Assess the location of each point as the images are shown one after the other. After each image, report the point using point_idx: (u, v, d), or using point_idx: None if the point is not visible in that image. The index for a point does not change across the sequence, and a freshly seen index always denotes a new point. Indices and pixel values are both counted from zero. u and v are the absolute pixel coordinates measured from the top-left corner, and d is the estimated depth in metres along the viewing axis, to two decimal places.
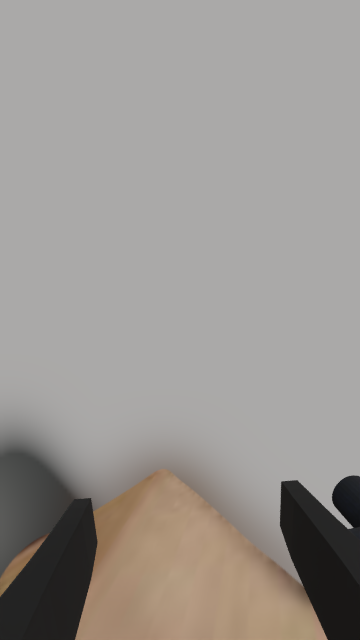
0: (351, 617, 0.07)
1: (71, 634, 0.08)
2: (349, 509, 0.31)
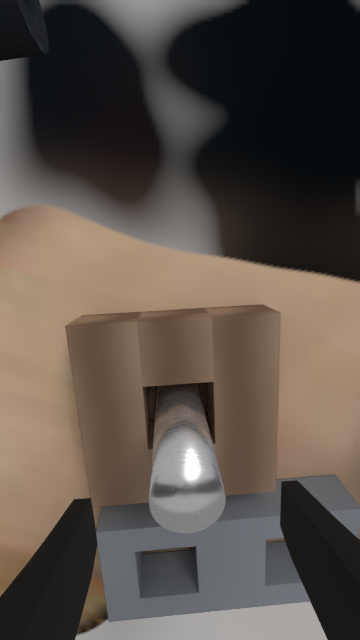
0: (351, 617, 0.07)
1: (71, 634, 0.08)
2: None
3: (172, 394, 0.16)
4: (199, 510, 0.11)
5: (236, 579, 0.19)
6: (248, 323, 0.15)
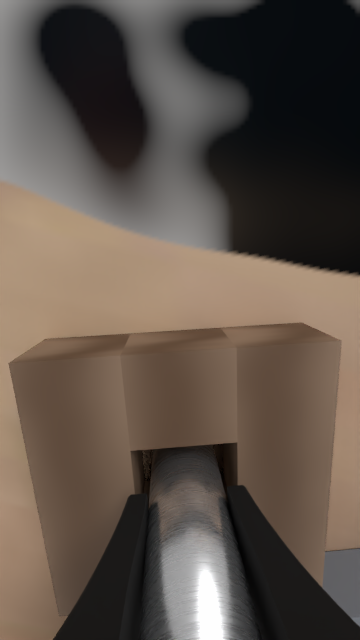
0: (269, 626, 0.07)
1: None
2: None
3: (175, 460, 0.11)
4: None
5: None
6: (292, 357, 0.10)
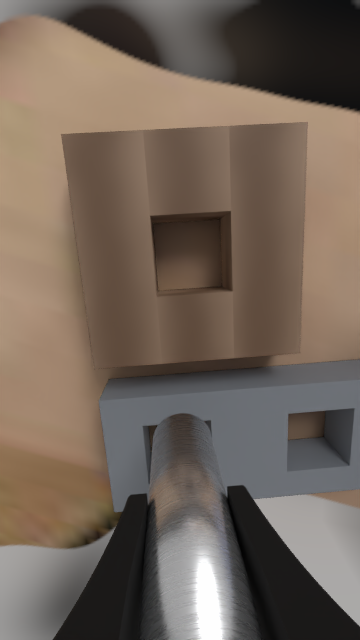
0: (269, 626, 0.07)
1: None
2: None
3: (175, 455, 0.11)
4: None
5: (255, 462, 0.17)
6: (271, 135, 0.13)
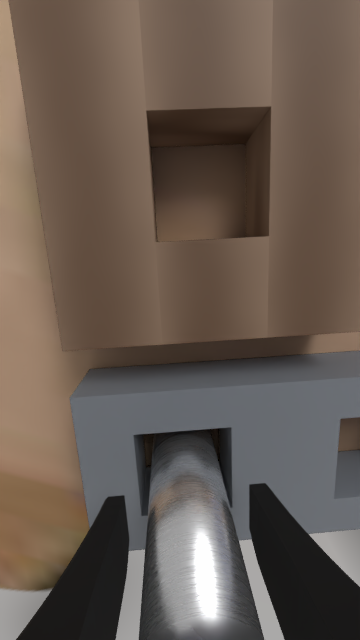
0: (302, 622, 0.07)
1: (113, 630, 0.08)
2: None
3: (175, 440, 0.12)
4: None
5: (291, 486, 0.13)
6: None
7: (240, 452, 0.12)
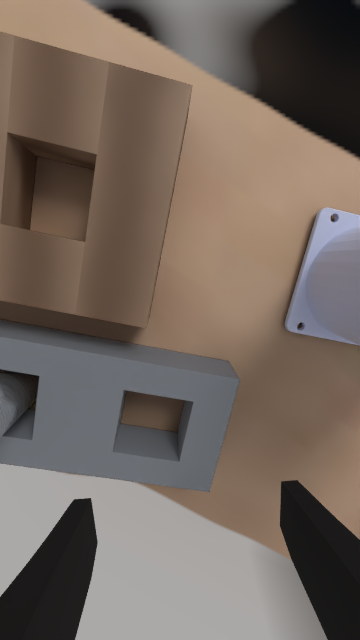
0: (351, 617, 0.07)
1: (71, 634, 0.08)
2: None
3: None
4: None
5: (80, 433, 0.16)
6: (152, 87, 0.13)
7: (43, 397, 0.16)
